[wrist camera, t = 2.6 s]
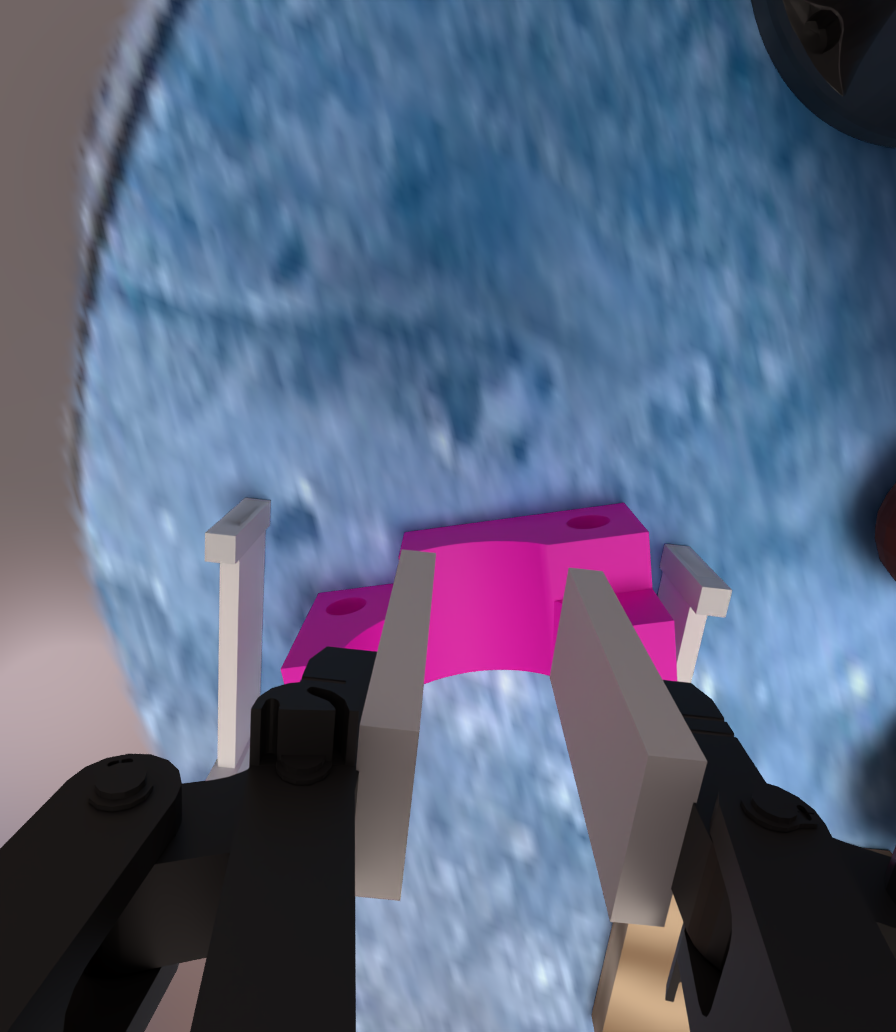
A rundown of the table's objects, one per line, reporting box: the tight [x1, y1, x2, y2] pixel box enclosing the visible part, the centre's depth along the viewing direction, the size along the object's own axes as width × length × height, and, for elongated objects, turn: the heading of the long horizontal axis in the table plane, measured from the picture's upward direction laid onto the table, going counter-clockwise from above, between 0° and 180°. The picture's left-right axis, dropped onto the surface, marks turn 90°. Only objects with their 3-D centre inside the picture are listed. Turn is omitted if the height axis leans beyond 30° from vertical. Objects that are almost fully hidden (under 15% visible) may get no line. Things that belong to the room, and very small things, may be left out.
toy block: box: [281, 503, 677, 684], centre depth 29 cm, size 15×6×8 cm, turn 98°
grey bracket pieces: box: [205, 498, 732, 781], centre depth 31 cm, size 13×21×5 cm, turn 84°
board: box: [592, 848, 892, 1032], centre depth 38 cm, size 14×14×2 cm
